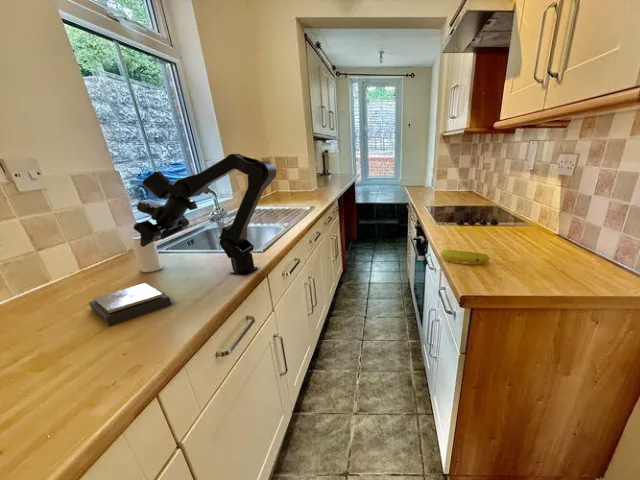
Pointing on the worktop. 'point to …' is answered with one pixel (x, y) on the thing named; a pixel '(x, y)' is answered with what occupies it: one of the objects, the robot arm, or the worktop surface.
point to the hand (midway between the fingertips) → (152, 241)
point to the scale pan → (127, 297)
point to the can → (146, 255)
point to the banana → (464, 257)
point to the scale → (130, 309)
